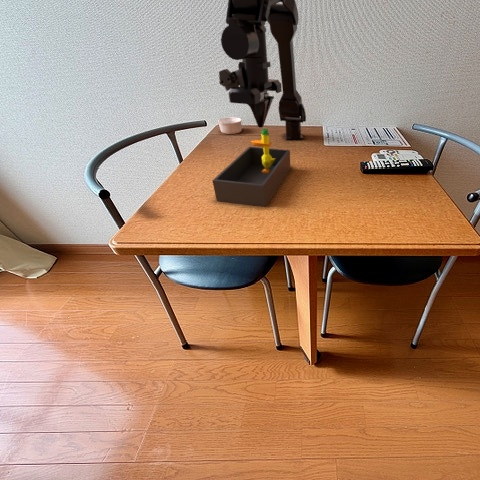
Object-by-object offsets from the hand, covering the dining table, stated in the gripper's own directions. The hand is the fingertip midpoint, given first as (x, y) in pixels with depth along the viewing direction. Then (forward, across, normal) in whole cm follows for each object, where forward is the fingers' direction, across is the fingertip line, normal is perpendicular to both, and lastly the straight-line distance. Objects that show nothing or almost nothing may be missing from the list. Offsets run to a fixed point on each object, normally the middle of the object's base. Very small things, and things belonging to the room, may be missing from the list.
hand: (260, 127), depth 75 cm
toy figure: (+13, 0, 0) cm, 13 cm away
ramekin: (+12, -33, -27) cm, 45 cm away
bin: (+13, +6, 0) cm, 14 cm away
